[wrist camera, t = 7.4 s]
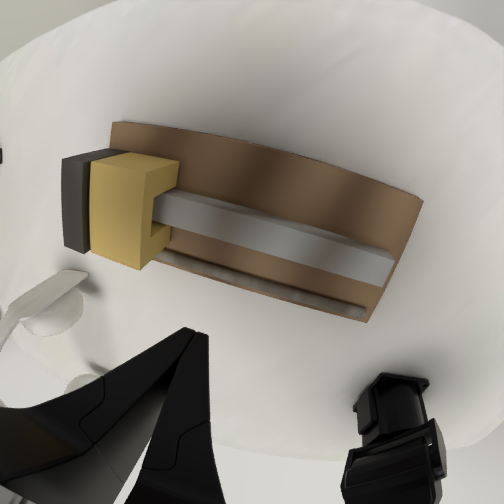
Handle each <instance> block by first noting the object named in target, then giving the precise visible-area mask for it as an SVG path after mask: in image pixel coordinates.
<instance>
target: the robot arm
mask: <svg viewBox="0 0 504 504" xmlns="http://www.w3.org/2000/svg"><path fill="white" fill-rule="evenodd" d="M429 384H430V383H429V381H428V380H425V379H418V378H410V377H404V376H397V375H391V374H381V375H379V376H378V378H377V379H376V380H375V381H374V383H373V384H372V385H371V386H370V388H369V389H368V390H367V391H366V392H365V393H364V395H363V396H362V397H361V398H360V399H359V400H358V402H357V403H356V404H355V405H354V406H353V412H356V413H357V420H358V433H359V435H362V447H360V448H356V449H355V448H354V449H350V450H349V453H348V457H347V461H346V465H345V470H344V474H343V478H342V482H341V486H340V487H341V492H342V496H343V499H344V501H345V504H439V502H440V500H441V498H442V487H441V479H443V478H445V477H446V475H447V468H446V467H447V466H446V449H445V444H444V440H443V436H442V433H441V431H440V428H439V426H438V424H437V422H436V420H435V418H432V419H430V420H429V421H428V419H427V414H426V410H425V406H424V402H423V398H422V393H423V392H424V391H425V389H426V388H427V387H428V386H429ZM150 438H151V440H150ZM149 440H150V443H149V446H148V449H147V452H146V455H145V458H144V461H143V464H142V469H141V470H140V473H139V476H138V478H137V481H136V483H135V486H134V487H133V489H132V491H131V492H130V494H129V496H128V498H127V499H126V501H125V503H124V504H226V503H225V499H224V496H223V492H222V488H221V484H220V480H219V476H218V472H217V468H216V464H215V459H214V453H213V448H212V438H211V422H210V393H209V336H208V335H207V334H204V333H201V332H196V331H195V330H192V329H190V328H187V327H183V328H181V329H180V330H178V331H177V332H175V333H173V334H172V335H170V336H168V337H167V338H165V339H163V340H162V341H160V342H158V343H157V344H155V345H154V346H152V347H150V348H149V349H147V350H145V351H144V352H142V353H140V354H138V355H137V356H135V357H133V358H132V359H130V360H128V361H127V362H125V363H123V364H122V365H120V366H118V367H116V368H115V369H113V370H111V371H110V372H108V373H106V374H104V376H101V377H99V378H97V379H95V380H94V381H92V382H90V383H88V384H86V385H84V386H82V387H80V388H78V389H76V390H74V391H71V392H69V393H67V394H64V395H62V396H60V397H57V398H54V399H52V400H49V401H47V402H44V403H41V404H39V405H36V406H33V407H29V408H8V407H0V504H113V503H114V501H115V500H116V498H117V496H118V494H119V493H120V491H121V489H122V487H123V486H124V484H125V482H126V480H127V479H128V477H129V475H130V473H131V472H132V470H133V468H134V466H135V465H136V463H137V461H138V459H139V458H140V456H141V454H142V452H143V451H144V449H145V447H146V445H147V444H148V442H149ZM431 443H432V445H430V446H428V445H429V444H431Z"/></svg>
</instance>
